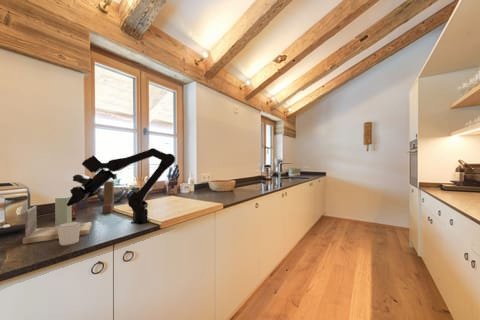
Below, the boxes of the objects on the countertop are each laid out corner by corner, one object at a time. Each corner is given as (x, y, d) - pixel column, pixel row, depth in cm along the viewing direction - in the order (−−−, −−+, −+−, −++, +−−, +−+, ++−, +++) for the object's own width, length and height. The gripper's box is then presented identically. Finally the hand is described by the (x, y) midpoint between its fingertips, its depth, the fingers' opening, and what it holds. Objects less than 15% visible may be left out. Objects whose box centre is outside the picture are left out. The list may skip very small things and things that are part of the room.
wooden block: (111, 213, 121) (111, 182, 121) (102, 214, 119) (102, 182, 119) (113, 209, 129) (113, 180, 129) (105, 210, 128) (105, 181, 127)
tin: (78, 218, 110) (77, 203, 110) (70, 220, 107) (70, 204, 107) (66, 214, 118) (66, 200, 118) (59, 216, 115) (59, 201, 115)
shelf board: (91, 226, 98) (91, 200, 98) (88, 234, 88) (88, 205, 88) (33, 233, 88) (33, 205, 88) (22, 244, 78) (22, 212, 78)
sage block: (71, 225, 99) (71, 196, 99) (66, 228, 95) (66, 197, 95) (60, 226, 98) (60, 196, 98) (55, 229, 94) (55, 198, 94)
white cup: (54, 247, 75) (54, 228, 75) (61, 240, 81) (61, 222, 81) (77, 244, 78) (77, 225, 78) (83, 237, 84) (82, 220, 84)
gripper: (94, 167, 108) (70, 188, 105) (75, 168, 90) (45, 195, 87) (111, 181, 110) (87, 203, 107) (96, 186, 91) (67, 213, 89)
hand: (73, 203), depth 98 cm, fingers open, 9 cm apart
